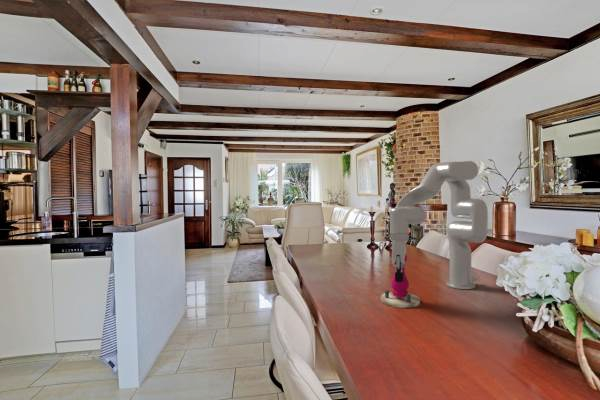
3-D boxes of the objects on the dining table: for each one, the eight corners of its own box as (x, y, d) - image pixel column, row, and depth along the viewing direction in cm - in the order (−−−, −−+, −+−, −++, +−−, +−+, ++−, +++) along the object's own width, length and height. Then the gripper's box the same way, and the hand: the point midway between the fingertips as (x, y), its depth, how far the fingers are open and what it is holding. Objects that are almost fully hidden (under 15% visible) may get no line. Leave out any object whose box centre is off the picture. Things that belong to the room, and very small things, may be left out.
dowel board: (402, 293, 146) (402, 283, 146) (428, 304, 131) (428, 293, 131) (372, 298, 140) (372, 288, 139) (397, 310, 125) (397, 299, 125)
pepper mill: (410, 298, 131) (409, 249, 131) (391, 297, 132) (391, 249, 132) (407, 292, 138) (407, 246, 138) (390, 291, 139) (389, 246, 139)
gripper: (392, 234, 144) (392, 273, 145) (387, 239, 128) (388, 284, 129) (409, 234, 141) (410, 275, 142) (407, 240, 125) (407, 285, 126)
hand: (399, 279), depth 135 cm, fingers closed on pepper mill, 5 cm apart
